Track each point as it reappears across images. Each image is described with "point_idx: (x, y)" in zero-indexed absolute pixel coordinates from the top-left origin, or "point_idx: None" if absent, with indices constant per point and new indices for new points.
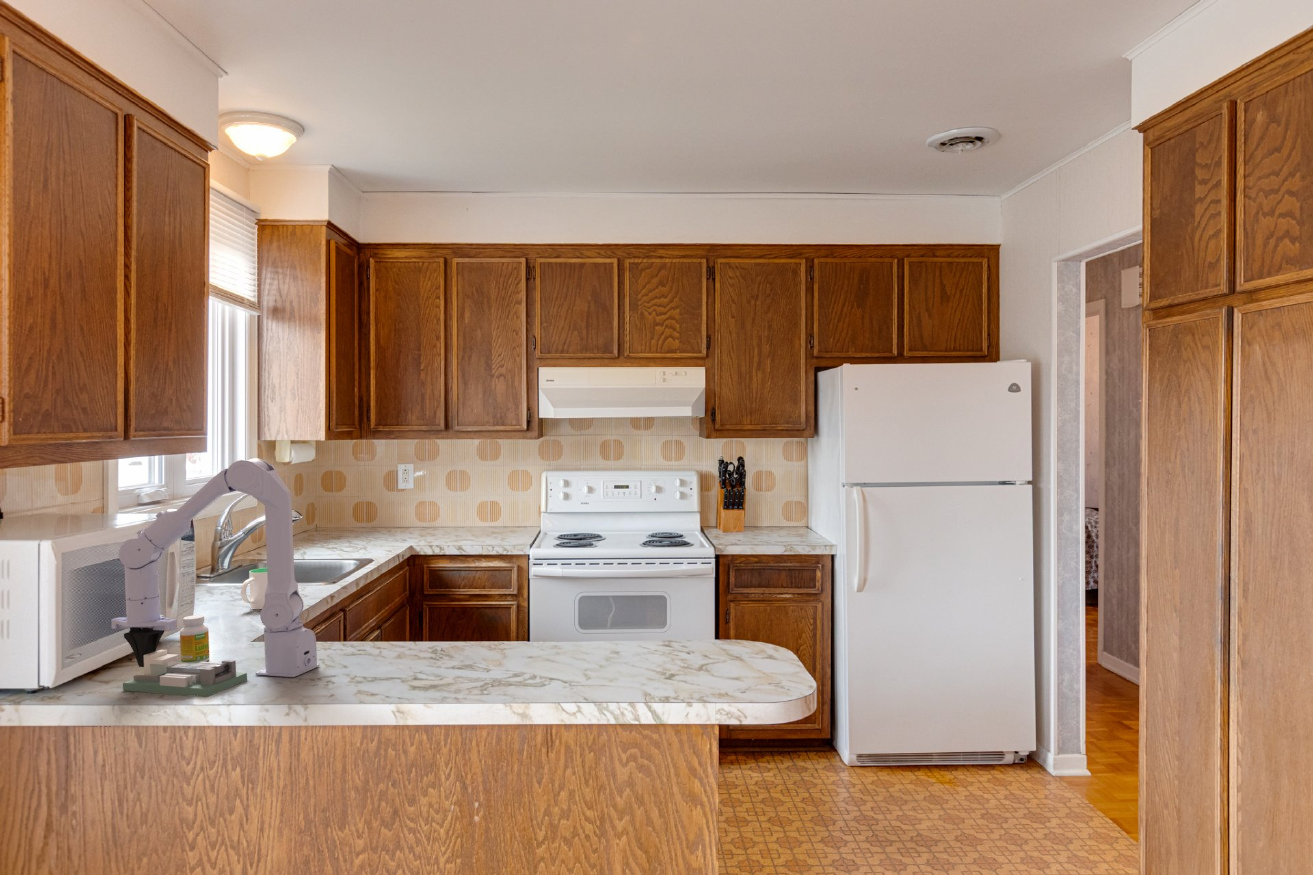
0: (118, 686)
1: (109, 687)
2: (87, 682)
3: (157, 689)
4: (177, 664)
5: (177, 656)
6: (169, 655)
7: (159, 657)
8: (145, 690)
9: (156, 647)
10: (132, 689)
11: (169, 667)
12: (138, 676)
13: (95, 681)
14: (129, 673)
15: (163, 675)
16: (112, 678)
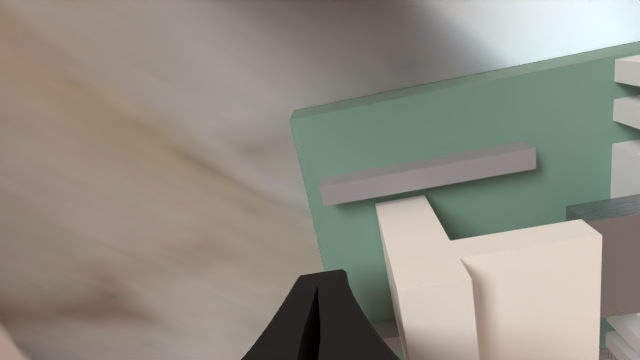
0: (254, 326)
1: (229, 348)
2: (36, 343)
3: None
4: (613, 254)
5: (595, 246)
6: (531, 280)
7: (499, 342)
8: None
9: (376, 333)
10: None
11: (614, 315)
12: (393, 350)
13: (51, 322)
14: (39, 179)
15: (448, 236)
16: (67, 266)
